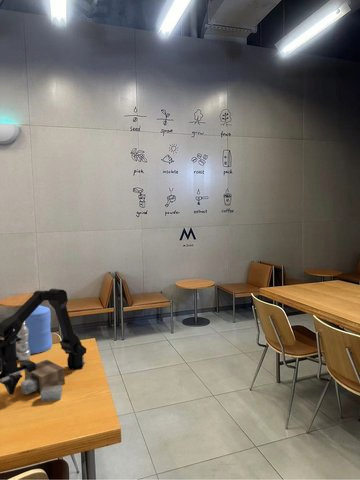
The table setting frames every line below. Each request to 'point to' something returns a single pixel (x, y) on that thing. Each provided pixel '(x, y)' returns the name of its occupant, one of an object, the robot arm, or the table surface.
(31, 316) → the water jug
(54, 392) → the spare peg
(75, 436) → the table surface
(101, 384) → the table surface
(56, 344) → the table surface
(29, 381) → the peg
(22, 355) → the plastic bottle
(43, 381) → the socket block
